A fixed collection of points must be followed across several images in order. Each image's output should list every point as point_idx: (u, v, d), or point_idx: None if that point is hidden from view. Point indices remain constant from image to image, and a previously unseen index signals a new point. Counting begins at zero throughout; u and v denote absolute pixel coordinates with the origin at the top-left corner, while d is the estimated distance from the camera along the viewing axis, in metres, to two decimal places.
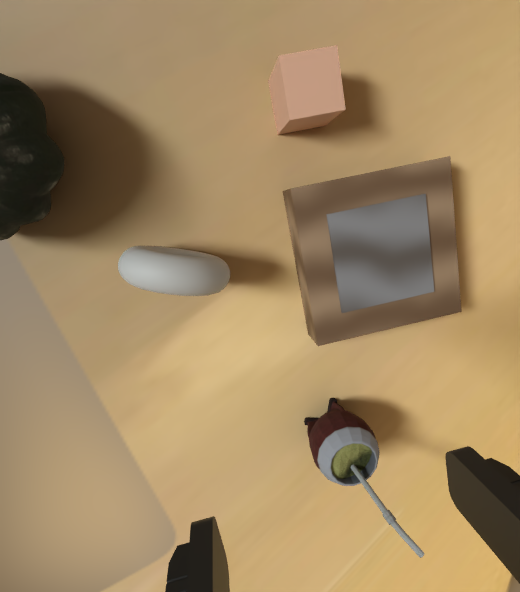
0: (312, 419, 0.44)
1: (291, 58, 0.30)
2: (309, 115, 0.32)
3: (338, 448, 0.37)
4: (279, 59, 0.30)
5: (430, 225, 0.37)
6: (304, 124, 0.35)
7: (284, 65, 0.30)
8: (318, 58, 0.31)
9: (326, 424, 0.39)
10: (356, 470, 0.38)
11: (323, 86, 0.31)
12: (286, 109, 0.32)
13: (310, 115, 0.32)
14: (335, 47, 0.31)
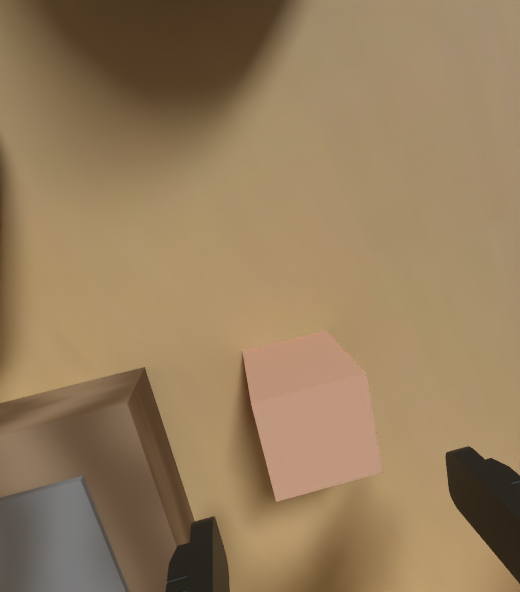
0: None
1: (361, 396, 0.16)
2: (262, 439, 0.16)
3: None
4: (359, 374, 0.16)
5: None
6: None
7: (348, 385, 0.16)
8: (361, 444, 0.16)
9: None
10: None
11: (315, 458, 0.16)
12: (272, 391, 0.16)
13: (262, 441, 0.16)
14: (378, 470, 0.17)
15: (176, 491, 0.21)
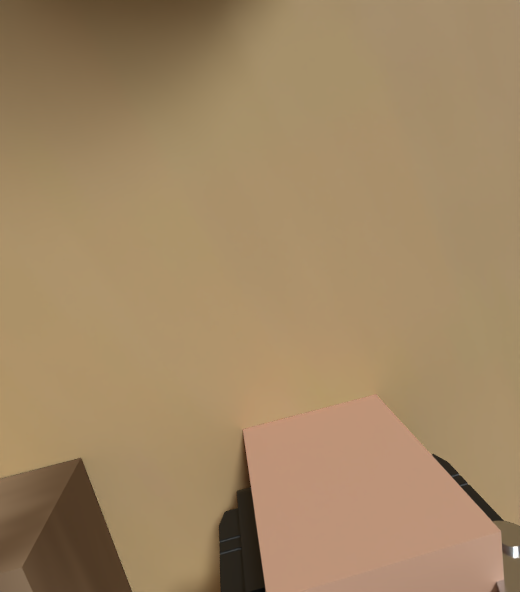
0: None
1: (488, 573, 0.08)
2: None
3: None
4: (484, 530, 0.08)
5: None
6: None
7: (465, 554, 0.08)
8: None
9: None
10: None
11: None
12: (308, 561, 0.08)
13: None
14: None
15: None
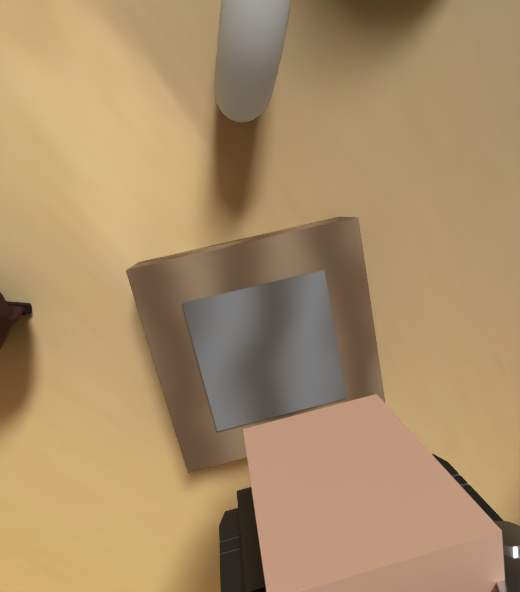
0: None
1: (488, 572, 0.08)
2: None
3: None
4: (485, 530, 0.08)
5: (305, 411, 0.28)
6: None
7: (465, 555, 0.08)
8: None
9: None
10: None
11: None
12: (309, 561, 0.08)
13: None
14: None
15: None
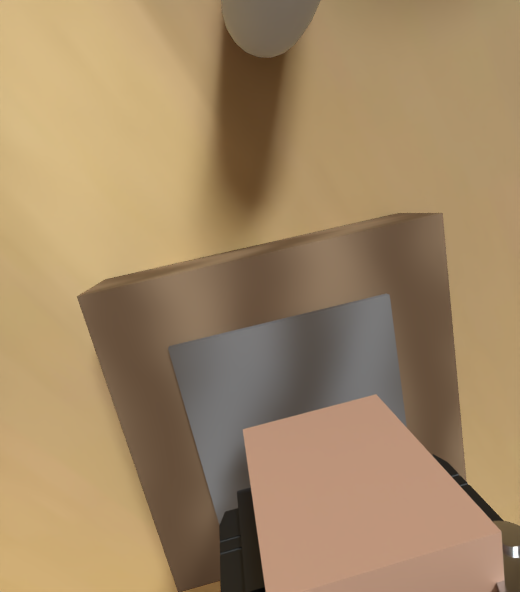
0: None
1: (488, 573, 0.08)
2: None
3: None
4: (485, 530, 0.08)
5: None
6: None
7: (465, 555, 0.08)
8: None
9: None
10: None
11: None
12: (308, 561, 0.08)
13: None
14: None
15: None
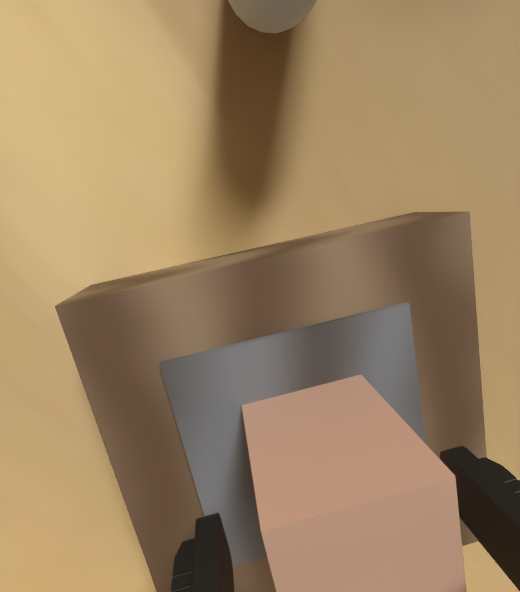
0: None
1: (445, 512, 0.09)
2: (278, 585, 0.09)
3: None
4: (442, 476, 0.09)
5: None
6: None
7: (424, 496, 0.09)
8: (439, 584, 0.10)
9: None
10: None
11: None
12: (295, 502, 0.09)
13: (278, 587, 0.09)
14: None
15: None
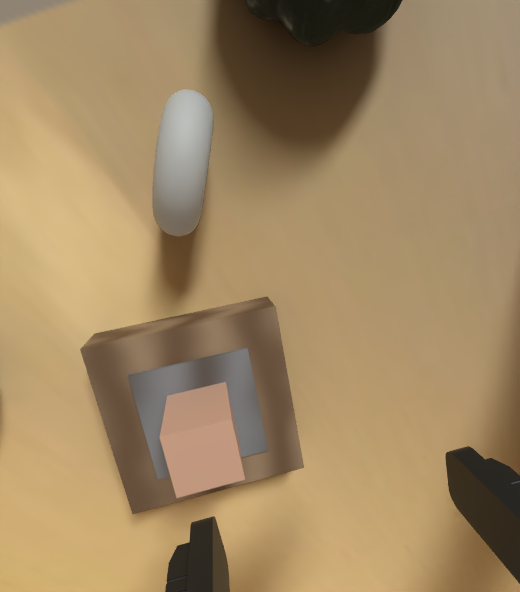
0: None
1: (229, 433, 0.26)
2: (166, 459, 0.25)
3: None
4: (227, 419, 0.26)
5: None
6: None
7: (220, 426, 0.26)
8: (230, 461, 0.26)
9: None
10: None
11: (201, 471, 0.26)
12: (174, 429, 0.26)
13: (167, 460, 0.26)
14: (242, 478, 0.27)
15: None
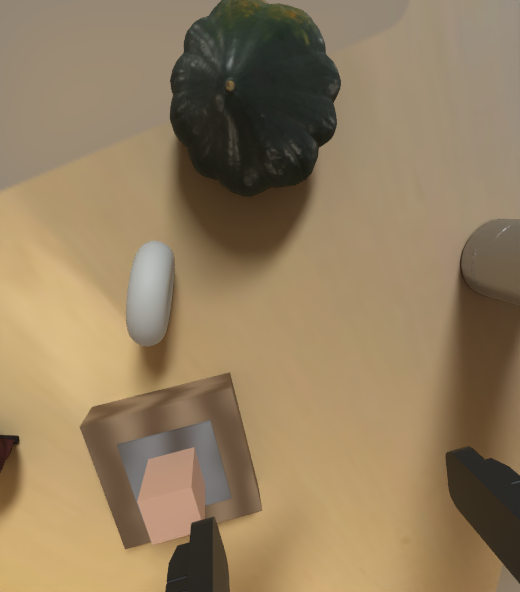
0: None
1: (190, 496, 0.34)
2: (143, 517, 0.34)
3: None
4: (188, 487, 0.34)
5: None
6: None
7: (183, 492, 0.34)
8: (192, 517, 0.35)
9: None
10: None
11: (170, 525, 0.34)
12: (149, 494, 0.34)
13: (143, 517, 0.34)
14: None
15: (244, 432, 0.43)
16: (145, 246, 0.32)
